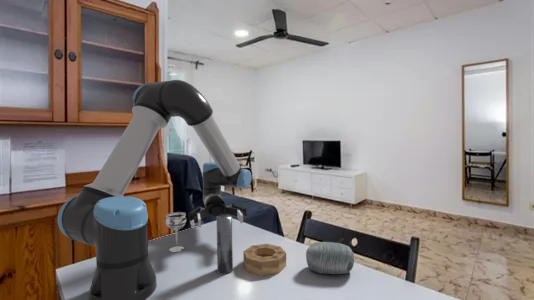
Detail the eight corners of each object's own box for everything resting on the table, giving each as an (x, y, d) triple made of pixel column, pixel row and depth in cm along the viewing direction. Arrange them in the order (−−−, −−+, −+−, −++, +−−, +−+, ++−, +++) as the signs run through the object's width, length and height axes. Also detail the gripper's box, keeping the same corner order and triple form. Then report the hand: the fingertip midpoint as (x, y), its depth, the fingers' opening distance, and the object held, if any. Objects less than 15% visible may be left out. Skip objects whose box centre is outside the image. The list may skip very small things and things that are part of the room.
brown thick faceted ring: (249, 277, 79) (249, 263, 78) (241, 258, 90) (241, 246, 90) (290, 271, 82) (290, 258, 82) (277, 254, 94) (277, 242, 93)
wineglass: (168, 245, 101) (168, 212, 100) (188, 244, 102) (187, 211, 101) (164, 253, 94) (163, 218, 94) (185, 252, 95) (184, 217, 94)
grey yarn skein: (355, 253, 86) (348, 230, 82) (359, 282, 78) (351, 257, 74) (311, 258, 90) (302, 236, 86) (311, 286, 82) (301, 263, 78)
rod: (218, 275, 80) (217, 220, 79) (216, 267, 84) (215, 215, 83) (233, 272, 81) (233, 218, 80) (231, 265, 86) (230, 213, 84)
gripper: (245, 211, 116) (258, 228, 95) (181, 216, 109) (181, 237, 89) (245, 193, 115) (258, 206, 95) (181, 197, 108) (180, 213, 88)
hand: (221, 221), depth 92 cm, fingers open, 13 cm apart
